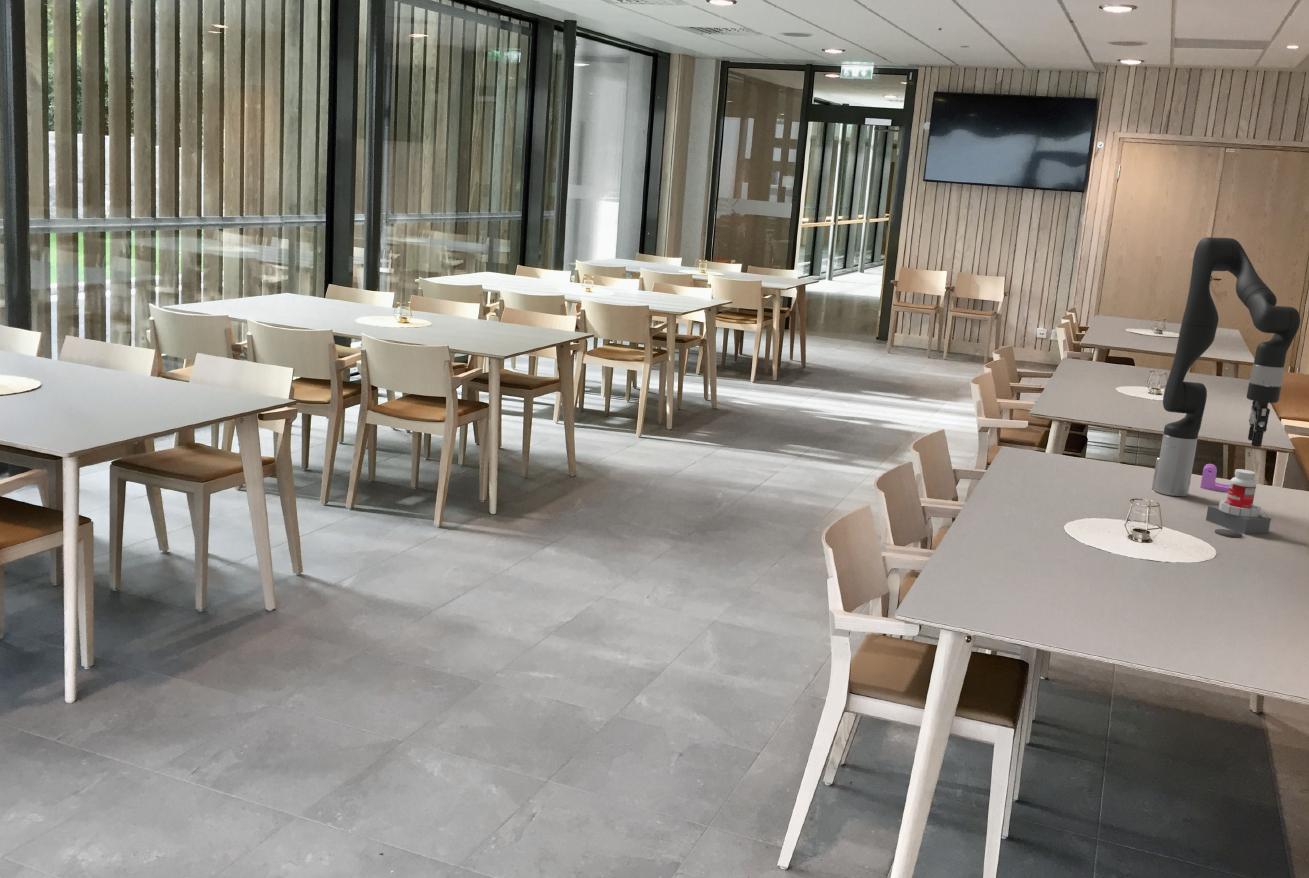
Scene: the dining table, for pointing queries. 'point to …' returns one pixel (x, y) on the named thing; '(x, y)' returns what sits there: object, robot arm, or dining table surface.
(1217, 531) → the lens cap
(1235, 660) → the dining table surface
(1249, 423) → the robot arm
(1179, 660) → the dining table surface
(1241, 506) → the pill bottle
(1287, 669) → the dining table surface
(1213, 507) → the gray ring-topped block
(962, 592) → the dining table surface
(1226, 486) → the bracket
